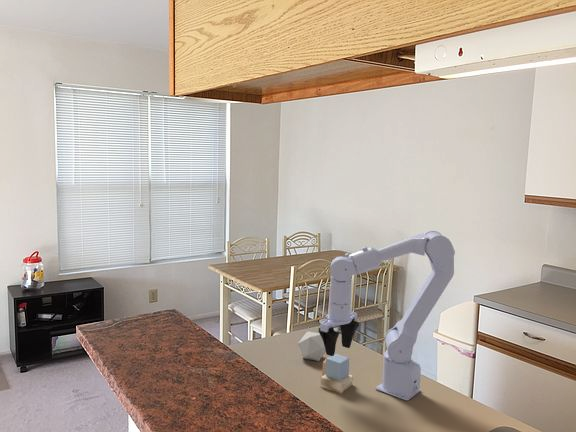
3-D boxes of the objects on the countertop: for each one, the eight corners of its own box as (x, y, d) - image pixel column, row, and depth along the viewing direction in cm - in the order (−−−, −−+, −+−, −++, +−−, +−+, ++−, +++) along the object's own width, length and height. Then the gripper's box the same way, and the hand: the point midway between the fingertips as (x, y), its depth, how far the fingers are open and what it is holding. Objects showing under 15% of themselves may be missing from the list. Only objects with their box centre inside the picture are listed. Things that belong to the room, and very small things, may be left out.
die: (330, 358, 151) (319, 329, 155) (331, 354, 143) (319, 324, 147) (306, 367, 151) (295, 338, 155) (305, 364, 143) (294, 333, 147)
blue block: (348, 375, 132) (349, 357, 131) (339, 381, 128) (340, 363, 128) (334, 370, 135) (335, 353, 134) (325, 376, 131) (326, 358, 130)
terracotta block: (339, 372, 140) (340, 359, 139) (335, 378, 136) (336, 364, 136) (326, 370, 141) (327, 357, 141) (322, 375, 138) (322, 362, 137)
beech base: (352, 386, 132) (352, 375, 132) (341, 394, 127) (341, 384, 127) (331, 379, 136) (332, 369, 136) (320, 387, 131) (320, 377, 130)
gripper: (342, 293, 137) (341, 340, 139) (311, 304, 126) (310, 354, 128) (364, 298, 133) (362, 346, 134) (333, 310, 122) (331, 362, 123)
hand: (338, 350), depth 131 cm, fingers open, 7 cm apart
